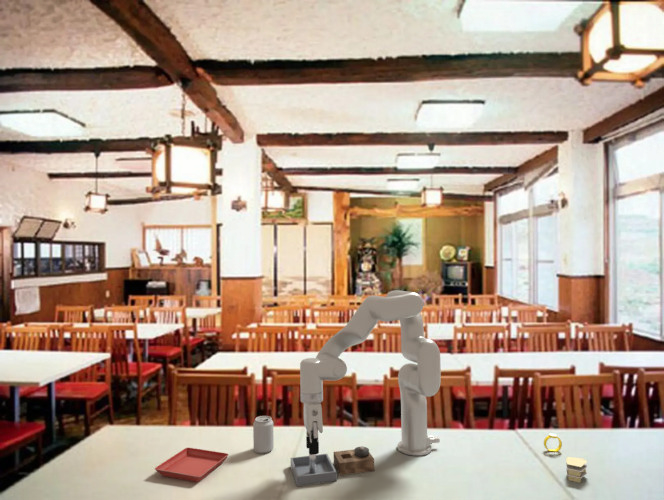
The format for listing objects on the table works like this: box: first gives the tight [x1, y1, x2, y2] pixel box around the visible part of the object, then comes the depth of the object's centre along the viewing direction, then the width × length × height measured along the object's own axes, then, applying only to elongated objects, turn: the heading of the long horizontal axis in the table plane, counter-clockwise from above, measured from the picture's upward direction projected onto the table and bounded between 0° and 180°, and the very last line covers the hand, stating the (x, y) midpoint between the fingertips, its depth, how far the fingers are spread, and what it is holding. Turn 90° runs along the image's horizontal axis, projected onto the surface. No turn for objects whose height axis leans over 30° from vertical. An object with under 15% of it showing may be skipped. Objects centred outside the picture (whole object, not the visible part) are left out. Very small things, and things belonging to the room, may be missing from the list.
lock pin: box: [308, 441, 317, 474], centre depth 153 cm, size 2×2×10 cm
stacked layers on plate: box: [565, 456, 588, 483], centre depth 148 cm, size 10×9×6 cm
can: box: [252, 415, 275, 454], centre depth 172 cm, size 8×8×12 cm
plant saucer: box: [154, 447, 229, 483], centre depth 158 cm, size 18×18×3 cm
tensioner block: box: [333, 446, 375, 476], centre depth 157 cm, size 12×9×6 cm
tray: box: [290, 453, 338, 487], centre depth 153 cm, size 13×14×3 cm
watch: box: [543, 433, 563, 453], centre depth 167 cm, size 6×3×6 cm, turn 88°
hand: (312, 450), depth 153 cm, fingers open, 4 cm apart
